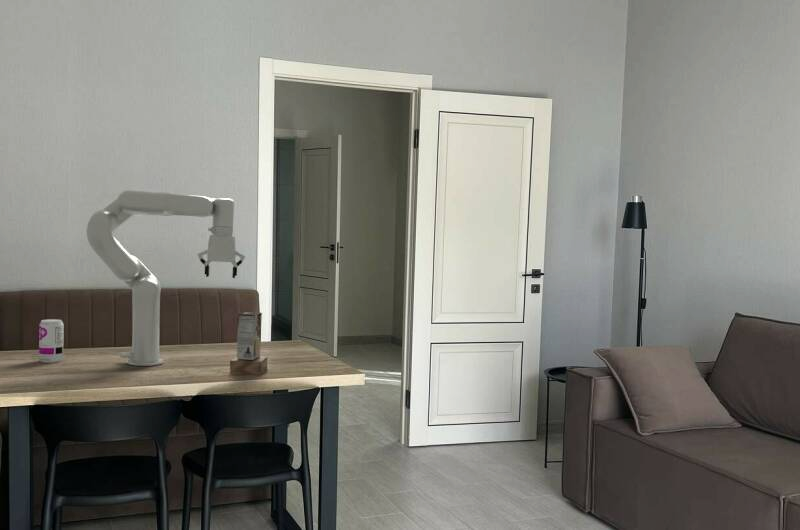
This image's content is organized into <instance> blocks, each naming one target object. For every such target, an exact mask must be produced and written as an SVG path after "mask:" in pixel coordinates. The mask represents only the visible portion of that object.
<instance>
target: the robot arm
mask: <svg viewBox="0 0 800 530" xmlns="http://www.w3.org/2000/svg"><path fill="white" fill-rule="evenodd" d="M234 211H235V202H234V200H233V199H232V198H223V197H220V198H210V197H207V196H205V195H204V196H203V195H202V196H201V195H187V194H177V193H176V194H174V193H170V192H169V193H168V192H160V191H159V192H158V191H147V190H146V191H144V190H133V189H131V190H129V189H128V190H124V191H122V192H120V194H118V197H117V198H116V199H115V200H114V201H112V202H111V203H110V204H109V205H107V206H106V207H105V208H103V209H100V210H97V211H95V212H94V213H93V214H92V215H91V216H90V218H89V221H88V223H87V227H86V238H87V241H88V243H89V246H90V247H91V249H92V250H93V252H94V253H96V255H97V256H98V257H99V258H100V260H102V262H103V263H104V264H105V265H106V266H107V268H108V269H109V270H110V271H111V272H112V273H113V274H114V276H115V277H116V278H117V279H118V280H120V281H123V282H124V284H126V285H127V286H128V287H129V289H130V290H131V291H132V295H131V298H132V336H131V337H132V344H131V347H132V348H131V351H128V352H125V351H121V352H120V353H119V358H122V359H125V358H127V359H128V360H127V364H128V365H131V366H136V367H137V366H138V367H140V366H141V367H147V366H148V367H149V366H158V365H162V364H163V363H164V359H163V358H161V357H160V331H161V330H160V324H161V321H160V319H161V318H160V317H161V314H160V310H161V305H160V304H161V303H160V302H161V291H162V287H161V283H160V281H159V280H158V278H157V277H156V276H155V275H154V274H153V273H152V272H151V271H150V270H149V269H148V268H147V267H146V265H144V263H143V262H142V261H141V260H140V259H139V258H138V256H137V257H136V256H135V255H134V254H133V255H132V254H130V253H129V252H128V251H127V250H126V249H125V248H124V247H123V246H122V245H121V243H120V242H119V241H118V240H117V239H116V238H115V237H114V235H113V232H114V231H115V230H117V229H118V228H119V227H120V226H122V225H123V224H125V222H127V221H128V220H129V219H131V218H132V217H133V216H135V215H143V216H144V215H146V216H159V217H160V216H161V217H162V216H164V217H169V216H181V217H183V216H186V217H187V216H188V217H200V218H206V217H212V226H211V227H208V230H207V231H208V232H210V233H211V234H209V238H208V242H207V249H206V250H203V251H202V252H199V253H197V256H198V259H199V262H201V264H203V266H204V275H206V276H205V277H207V278H208V277H210V263H212V262H217V263H231V264H232V266H233V267H232V278H233V279H236V277H237V276H238V267H239V266H240V265H242V263H243V262H244V260H245V258H246V256H245V255H244V254H242V253H240V252H238V251H237V250H236V237H235V235H234V213H235V212H234ZM206 254H207V255H206ZM205 255H206V258H207V260H206V259H204V257H203V256H205ZM236 256H237V257H239V260H238V261H237V262H236Z"/></svg>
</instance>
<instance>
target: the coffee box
mask: <svg viewBox="0 0 800 530" xmlns="http://www.w3.org/2000/svg"><path fill="white" fill-rule="evenodd" d="M262 315H263V313H262V312H257V311H255V312H253V311H251V312H250V311H244V312H241V313H239V314H238V316H237V317H238V319H237V344H236V356H237V359H245V360H254V359H256V358H258V357H260V356H261V340H262V318H263V317H262Z"/></svg>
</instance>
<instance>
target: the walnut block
mask: <svg viewBox="0 0 800 530" xmlns="http://www.w3.org/2000/svg"><path fill="white" fill-rule="evenodd" d="M267 370H268V356H265V355H260V357H258V358H256V359H254V360H245V359H237V355H236V356H235V357H233V358H232V359H230V360H229V374H230V373H233V375H255V374H257V375H263V374H264V373H265V372H266V371H267Z"/></svg>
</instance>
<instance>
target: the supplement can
mask: <svg viewBox="0 0 800 530" xmlns="http://www.w3.org/2000/svg"><path fill="white" fill-rule="evenodd" d="M64 324H65V323H64V322H63V320H62V319H58V318H57V319H54V318H52V319H51V318H50V319H49V318H48V319H42V320H41V321H40V323H39V326H38V328H39V329H38V331H39V332H38V338H39V339H38V360H39V361H40V362H41V363H45V364H46V363H47V364H50V363H51V364H52V363H60V362H62V360H64V341H65V340H64V335H65V333H64V328H65V327H64Z"/></svg>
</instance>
